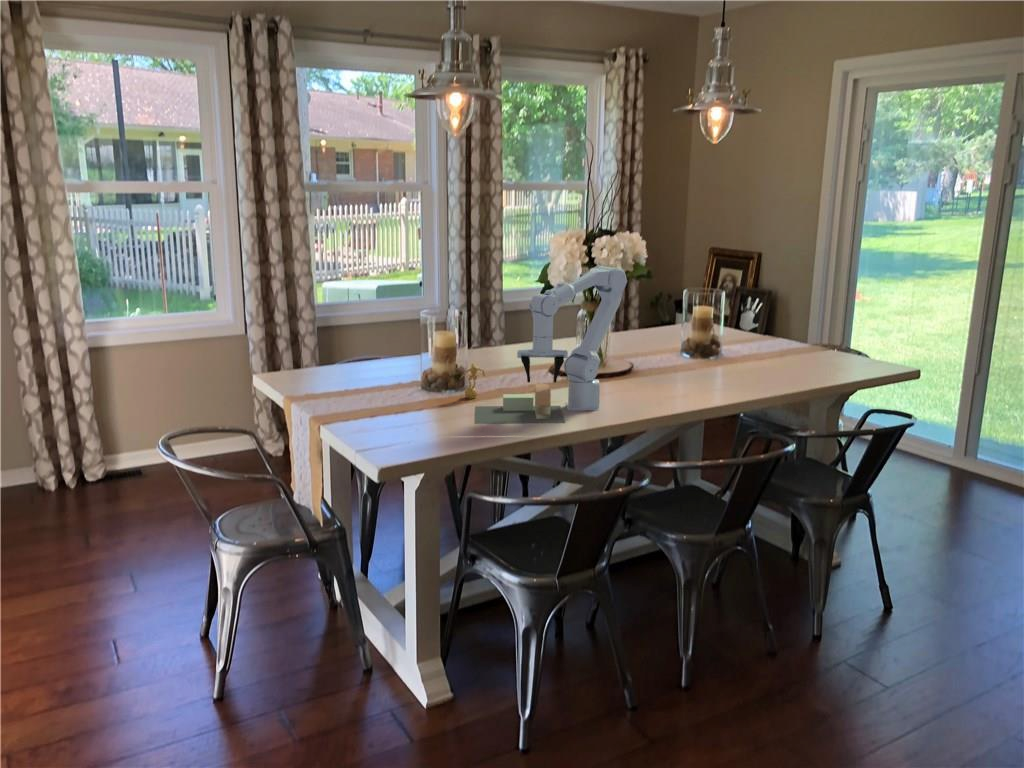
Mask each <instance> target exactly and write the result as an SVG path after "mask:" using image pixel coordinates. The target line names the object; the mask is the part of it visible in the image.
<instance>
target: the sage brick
mask: <svg viewBox="0 0 1024 768" xmlns="http://www.w3.org/2000/svg"><path fill="white" fill-rule="evenodd" d="M502 406H503V411H530V410H533V406H534V395H533V393H531V394H530V393H528V394H527V393H526V394H525V393H517V394H516V393H514V394H513V393H510V394H509V393H508V394H506V393H504V394H503V393H502Z"/></svg>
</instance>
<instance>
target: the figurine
mask: <svg viewBox="0 0 1024 768" xmlns="http://www.w3.org/2000/svg"><path fill="white" fill-rule="evenodd" d="M478 371H481V372H482V376H483V377H486V374H485V371H484V369H483V368H480V367H478V366H477V365H475V363H471V367H470V368H468V369H467V370H466V371H464V372H463V374H461V376H460V378H459V379H460V380H462V378H463V377H464V376H465V375H466V374H467V373H468V372H470V374H469V376H468V378H467V381H468V384H469V386H468V387H467V388H466V389H465V390H464V396H465V397H466V399H469V400H473V399H476V398H477V395H478V390H477V389H476V387H475V386H476V383H477V382H476V380H477V378H478V374H477V373H478ZM471 381H473V385H472V382H471Z"/></svg>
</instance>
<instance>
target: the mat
mask: <svg viewBox="0 0 1024 768" xmlns="http://www.w3.org/2000/svg"><path fill="white" fill-rule="evenodd" d="M565 423H566V419H565V417H564V414H563V411H562V407H561V405H551V410H550V418H549V419H537V418H536V413H535V405H533V410H530V411H503V405H500V406H499V405H494V406H493V405H492V406H491V405H490V406H488V405H484V406H482V405H477V406H474V424H475V425H483V424H484V425H485V424H487V425H491V424H492V425H493V424H496V425H498V424H503V425H504V424H565Z"/></svg>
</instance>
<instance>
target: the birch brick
mask: <svg viewBox="0 0 1024 768" xmlns="http://www.w3.org/2000/svg"><path fill="white" fill-rule="evenodd" d="M534 406H535V413H536V418H537V419H549V418H550V410H551V406H552V405H551V404H550V405H536V400H535V399H534Z"/></svg>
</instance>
